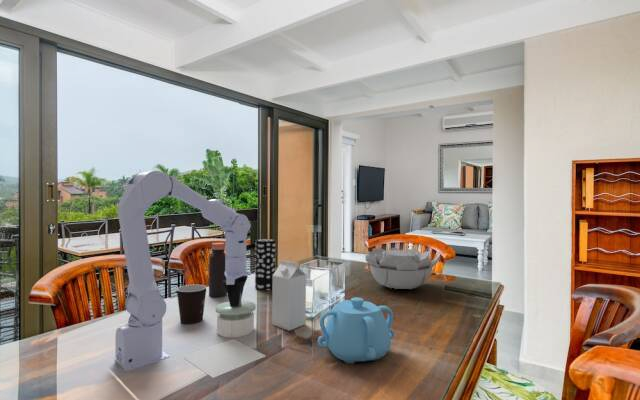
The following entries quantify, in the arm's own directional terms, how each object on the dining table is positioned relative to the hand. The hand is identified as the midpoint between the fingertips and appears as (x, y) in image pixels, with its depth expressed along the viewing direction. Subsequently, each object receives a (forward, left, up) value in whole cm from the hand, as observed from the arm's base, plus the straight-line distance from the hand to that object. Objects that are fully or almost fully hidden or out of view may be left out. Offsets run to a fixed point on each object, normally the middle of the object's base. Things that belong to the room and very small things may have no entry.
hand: (235, 303), depth 100 cm
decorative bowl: (+75, -8, -8) cm, 76 cm away
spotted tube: (+35, +31, -8) cm, 47 cm away
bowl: (0, 0, -8) cm, 8 cm away
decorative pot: (+13, -33, -8) cm, 36 cm away
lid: (0, 0, -1) cm, 1 cm away
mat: (-11, -12, -8) cm, 18 cm away
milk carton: (+14, -7, -8) cm, 18 cm away
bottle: (+16, +36, -8) cm, 40 cm away
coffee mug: (-3, +18, -8) cm, 20 cm away
